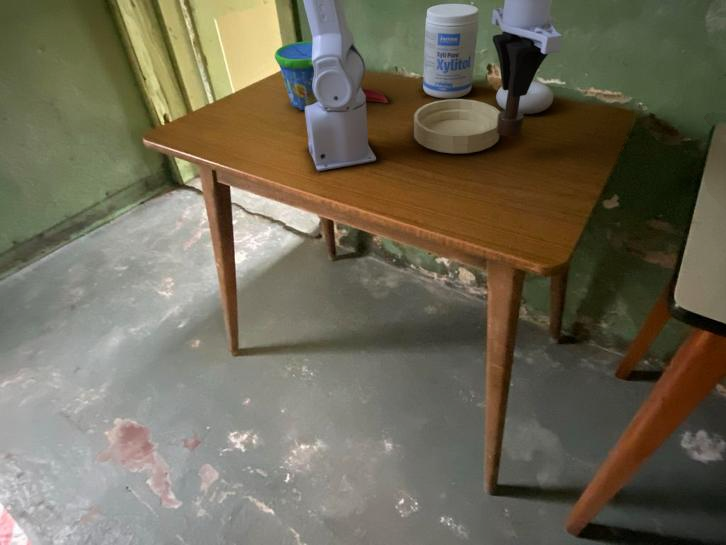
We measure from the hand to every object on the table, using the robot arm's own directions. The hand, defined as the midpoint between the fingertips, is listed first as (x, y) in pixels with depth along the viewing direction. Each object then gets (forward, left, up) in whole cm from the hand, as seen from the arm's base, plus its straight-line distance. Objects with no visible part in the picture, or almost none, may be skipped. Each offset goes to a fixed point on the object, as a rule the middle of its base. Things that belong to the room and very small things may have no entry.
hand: (514, 92), depth 69 cm
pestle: (0, 0, -6) cm, 6 cm away
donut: (+12, +17, -10) cm, 23 cm away
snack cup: (-25, +33, -10) cm, 42 cm away
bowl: (-4, +10, -10) cm, 15 cm away
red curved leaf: (-15, +32, -10) cm, 37 cm away
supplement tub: (+2, +29, -10) cm, 31 cm away
